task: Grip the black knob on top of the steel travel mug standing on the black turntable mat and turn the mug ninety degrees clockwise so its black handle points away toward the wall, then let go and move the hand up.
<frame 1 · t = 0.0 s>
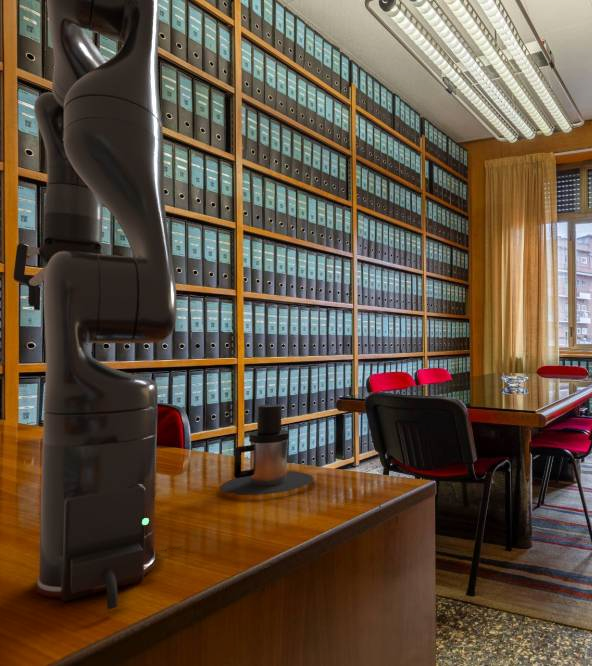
hand: (71, 311, 84), 29 cm above the table, tool pointing down, fingers open, 8 cm apart
steel travel mug: (261, 444, 82), point 7 cm above the table, hinge at 0.0°
turntable: (268, 487, 83), on the table
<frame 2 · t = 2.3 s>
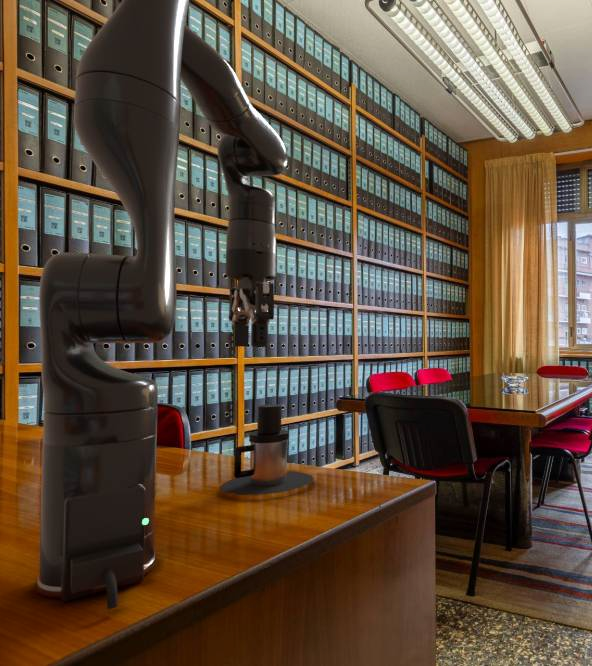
hand: (249, 346, 84), 24 cm above the table, tool pointing down, fingers open, 8 cm apart
nothing on the table moved.
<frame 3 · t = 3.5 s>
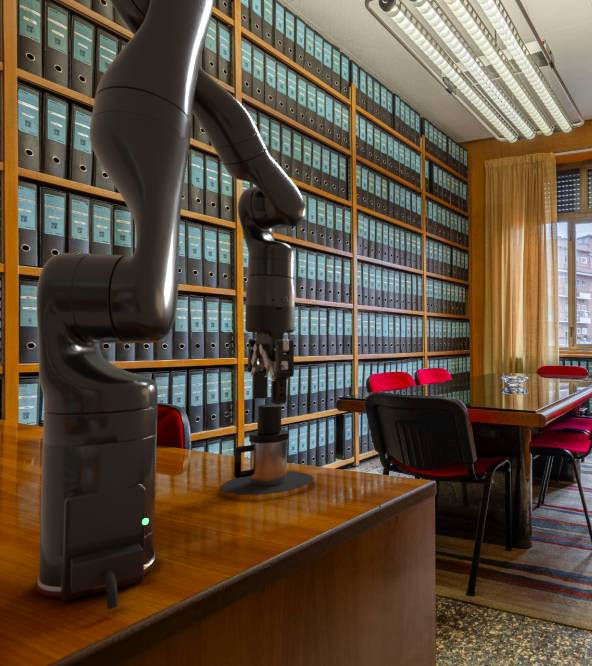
hand: (269, 401, 83), 14 cm above the table, tool pointing down, fingers open, 8 cm apart
nothing on the table moved.
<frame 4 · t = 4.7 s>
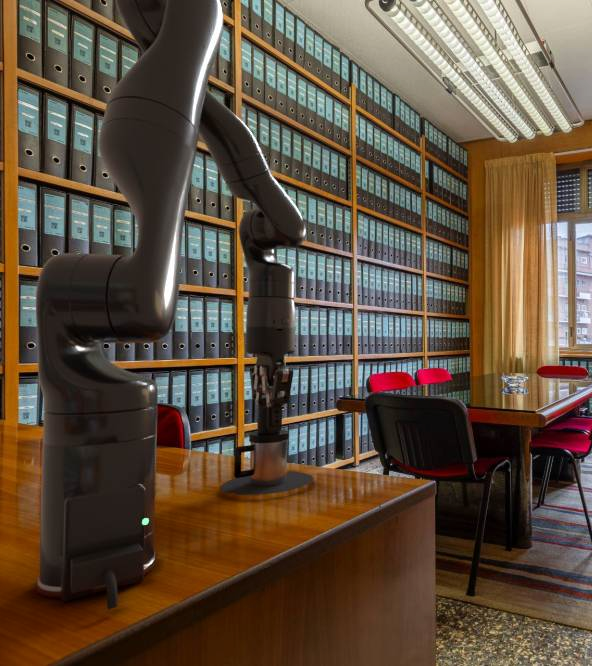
hand: (269, 427, 83), 10 cm above the table, tool pointing down, fingers closed on steel travel mug, 3 cm apart
steel travel mug: (261, 444, 82), point 7 cm above the table, hinge at 0.0°, touching gripper
everything else where it was.
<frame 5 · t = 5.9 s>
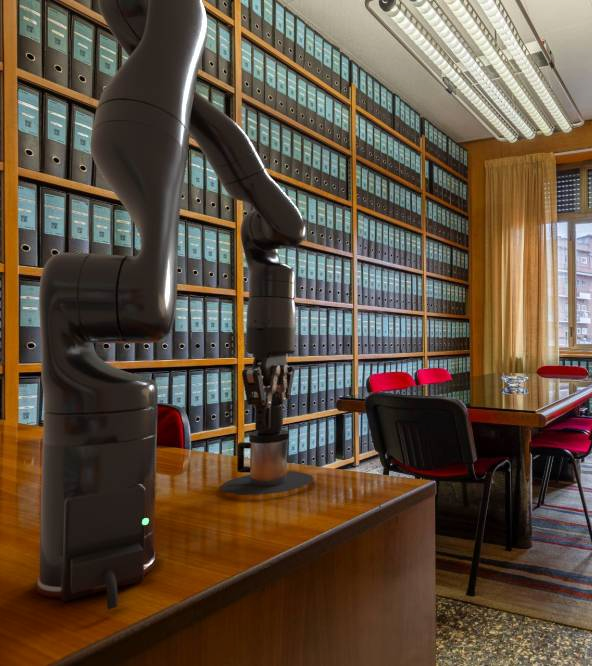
hand: (269, 427, 83), 10 cm above the table, tool pointing down, fingers closed on steel travel mug, 3 cm apart
steel travel mug: (262, 443, 83), point 7 cm above the table, hinge at -46.0°, touching gripper
everything else where it was.
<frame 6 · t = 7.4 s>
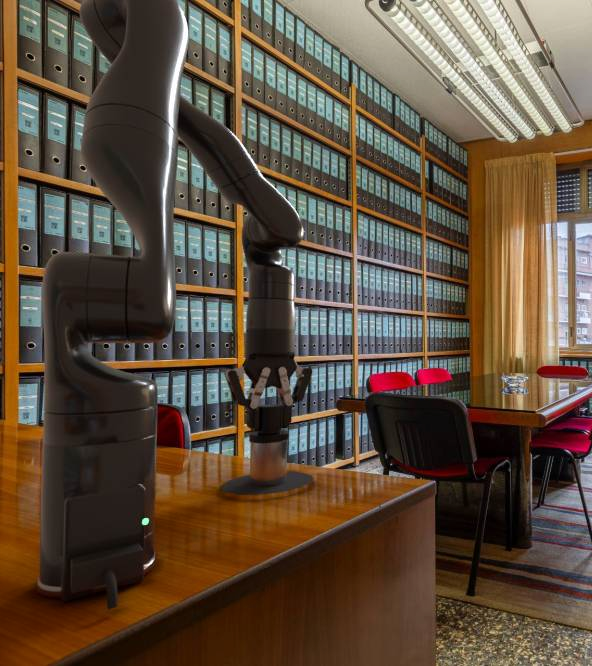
hand: (269, 428, 83), 10 cm above the table, tool pointing down, fingers open, 4 cm apart
steel travel mug: (266, 442, 84), point 7 cm above the table, hinge at -90.1°
everything else where it was.
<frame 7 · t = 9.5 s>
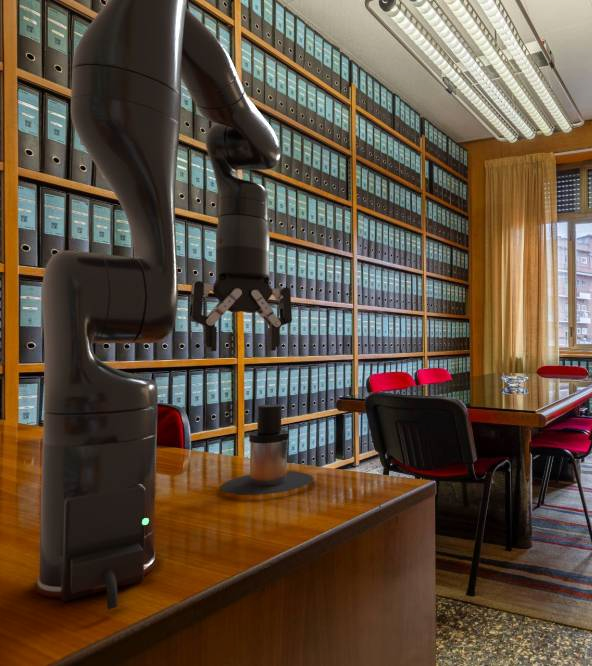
hand: (242, 350, 78), 23 cm above the table, tool pointing down, fingers open, 8 cm apart
nothing on the table moved.
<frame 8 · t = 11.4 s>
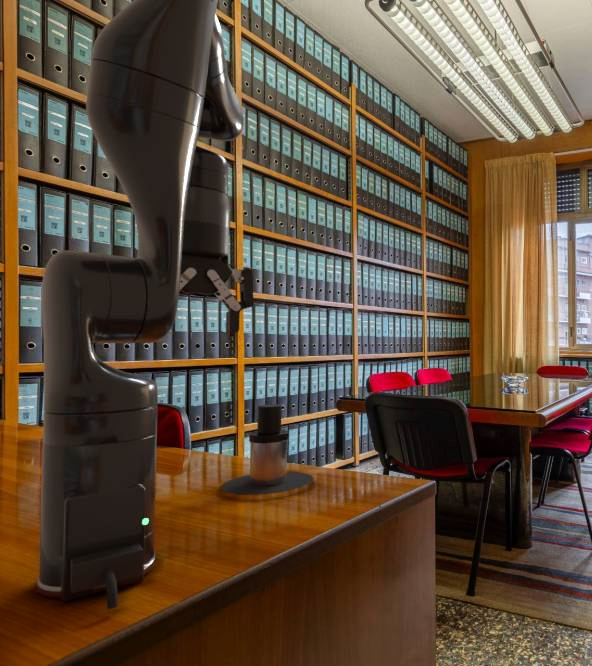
hand: (197, 336, 72), 25 cm above the table, tool pointing down, fingers open, 8 cm apart
nothing on the table moved.
at the end: steel travel mug at -90° (first picture: +0°); the gripper is holding nothing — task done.
